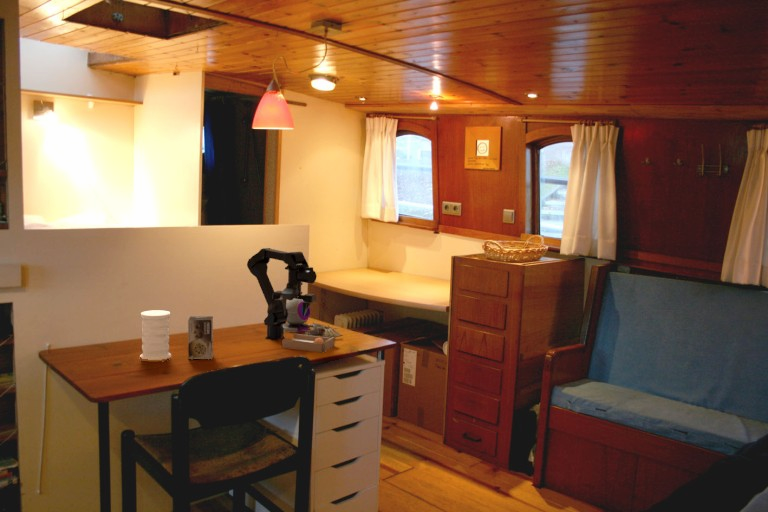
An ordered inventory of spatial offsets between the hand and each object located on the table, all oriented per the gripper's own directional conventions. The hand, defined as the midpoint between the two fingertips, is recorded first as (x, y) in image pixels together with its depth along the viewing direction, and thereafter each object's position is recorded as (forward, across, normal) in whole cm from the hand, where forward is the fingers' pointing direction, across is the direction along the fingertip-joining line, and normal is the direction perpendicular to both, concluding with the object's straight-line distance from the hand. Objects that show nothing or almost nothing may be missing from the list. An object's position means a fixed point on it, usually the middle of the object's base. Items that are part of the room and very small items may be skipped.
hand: (293, 315), depth 287 cm
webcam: (+12, -10, +24) cm, 29 cm away
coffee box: (+12, -22, -38) cm, 46 cm away
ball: (+10, +14, -3) cm, 17 cm away
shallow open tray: (+12, +9, -4) cm, 15 cm away
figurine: (+12, +8, +16) cm, 22 cm away
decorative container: (+12, -37, -46) cm, 60 cm away
